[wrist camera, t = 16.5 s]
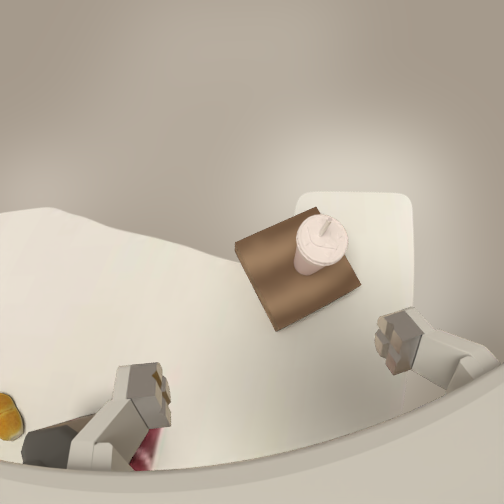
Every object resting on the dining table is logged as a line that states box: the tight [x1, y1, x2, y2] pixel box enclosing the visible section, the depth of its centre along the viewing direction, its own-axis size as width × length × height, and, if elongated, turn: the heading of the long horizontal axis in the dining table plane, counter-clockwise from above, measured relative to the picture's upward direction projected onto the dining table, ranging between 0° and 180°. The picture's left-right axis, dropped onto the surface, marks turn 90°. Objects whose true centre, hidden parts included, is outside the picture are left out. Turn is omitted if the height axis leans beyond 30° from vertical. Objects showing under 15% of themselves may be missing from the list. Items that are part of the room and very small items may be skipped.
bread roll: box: [0, 393, 23, 441], centre depth 38 cm, size 8×9×4 cm
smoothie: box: [294, 214, 348, 275], centre depth 41 cm, size 6×6×14 cm
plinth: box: [235, 207, 361, 331], centre depth 49 cm, size 14×14×4 cm
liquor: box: [21, 413, 131, 469], centre depth 26 cm, size 9×9×30 cm
